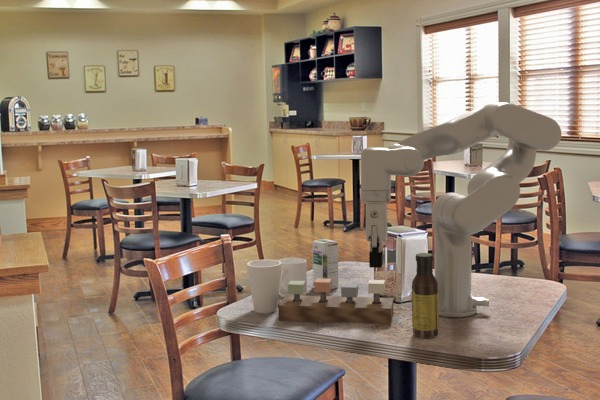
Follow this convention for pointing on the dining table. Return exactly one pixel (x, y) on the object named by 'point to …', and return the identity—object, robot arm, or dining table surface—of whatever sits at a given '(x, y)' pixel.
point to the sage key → (296, 289)
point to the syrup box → (325, 261)
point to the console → (336, 309)
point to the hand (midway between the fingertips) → (375, 266)
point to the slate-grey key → (349, 291)
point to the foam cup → (264, 284)
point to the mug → (292, 274)
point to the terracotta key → (322, 287)
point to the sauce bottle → (425, 299)
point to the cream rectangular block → (376, 289)
